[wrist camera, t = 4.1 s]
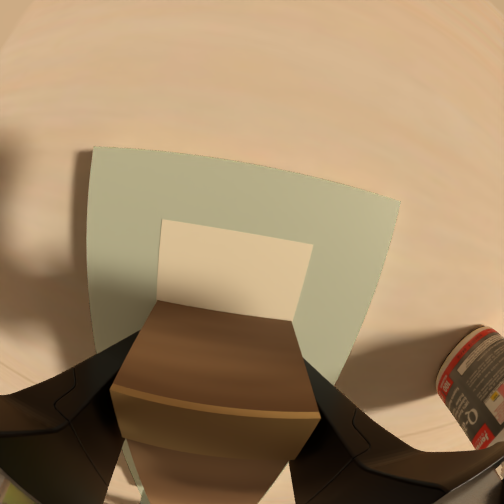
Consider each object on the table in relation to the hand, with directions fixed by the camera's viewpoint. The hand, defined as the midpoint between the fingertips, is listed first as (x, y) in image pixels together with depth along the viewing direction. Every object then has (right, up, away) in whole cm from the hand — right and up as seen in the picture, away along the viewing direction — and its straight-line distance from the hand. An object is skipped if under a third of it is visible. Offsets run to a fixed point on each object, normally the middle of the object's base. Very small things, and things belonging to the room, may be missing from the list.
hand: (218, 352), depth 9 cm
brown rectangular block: (-1, -4, +2) cm, 5 cm away
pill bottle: (+15, -4, +4) cm, 16 cm away
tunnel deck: (-2, -7, +4) cm, 8 cm away
